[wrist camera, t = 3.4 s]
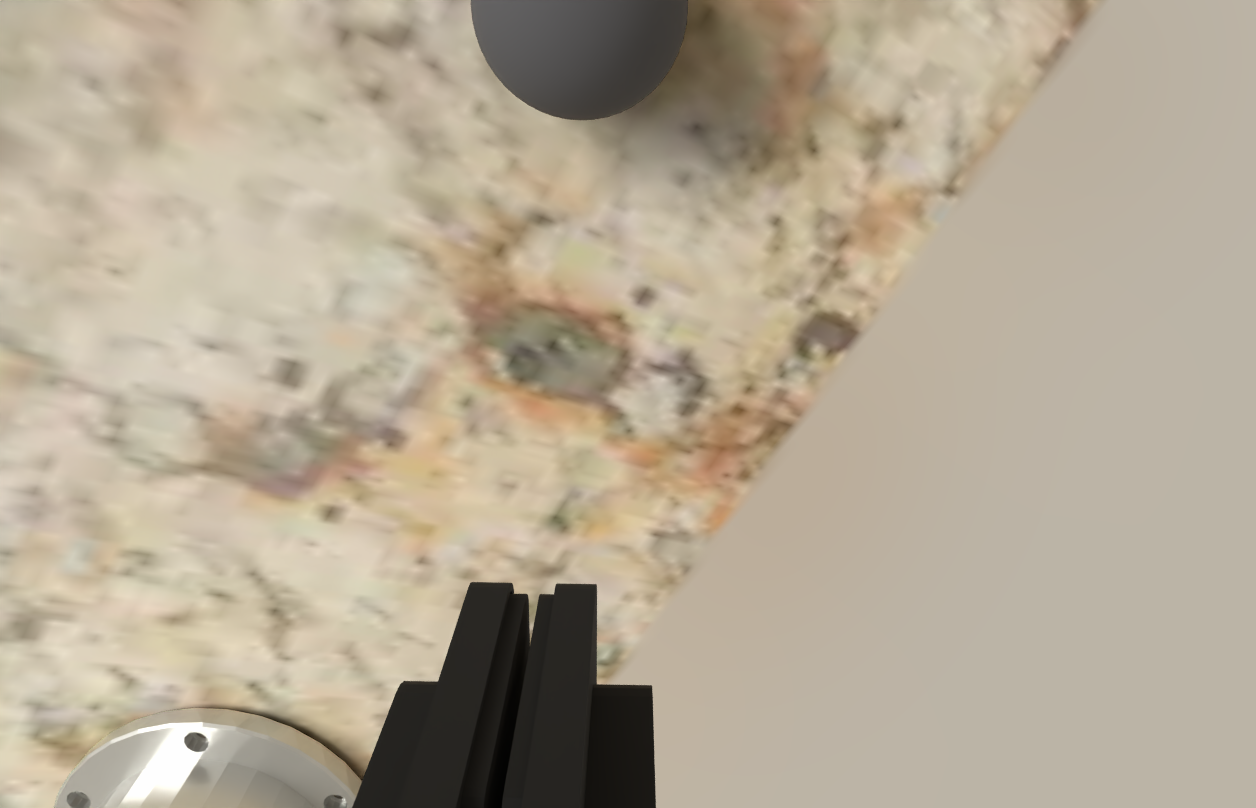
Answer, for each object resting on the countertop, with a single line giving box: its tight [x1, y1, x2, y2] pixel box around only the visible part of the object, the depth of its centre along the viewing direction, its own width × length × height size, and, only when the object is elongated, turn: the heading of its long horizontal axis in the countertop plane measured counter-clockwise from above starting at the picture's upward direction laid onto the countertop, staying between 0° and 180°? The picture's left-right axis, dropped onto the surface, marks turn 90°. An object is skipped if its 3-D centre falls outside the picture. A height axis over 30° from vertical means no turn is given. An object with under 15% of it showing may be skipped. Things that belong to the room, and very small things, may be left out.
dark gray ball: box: [471, 0, 688, 120], centre depth 23 cm, size 6×6×6 cm
